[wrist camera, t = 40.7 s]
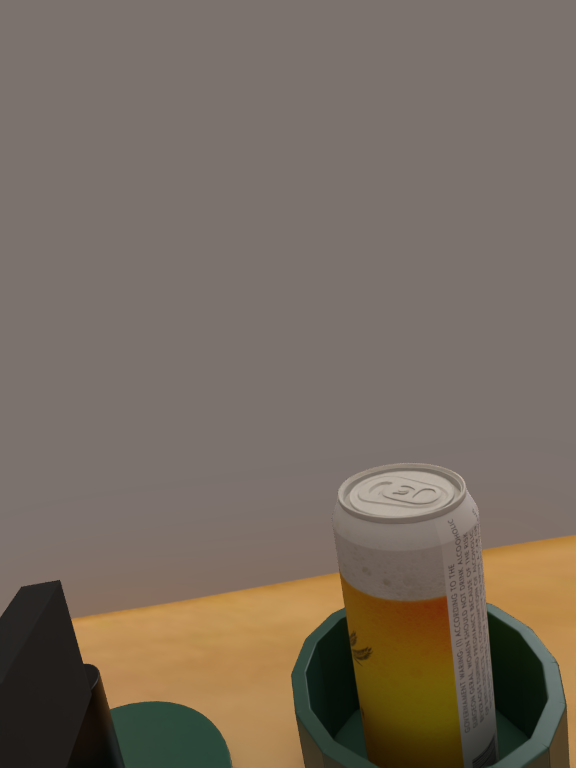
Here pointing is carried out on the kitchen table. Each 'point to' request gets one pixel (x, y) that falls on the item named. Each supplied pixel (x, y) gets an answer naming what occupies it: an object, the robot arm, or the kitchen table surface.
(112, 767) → the pot lid
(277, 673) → the kitchen table surface
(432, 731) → the beer can
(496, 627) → the pot
